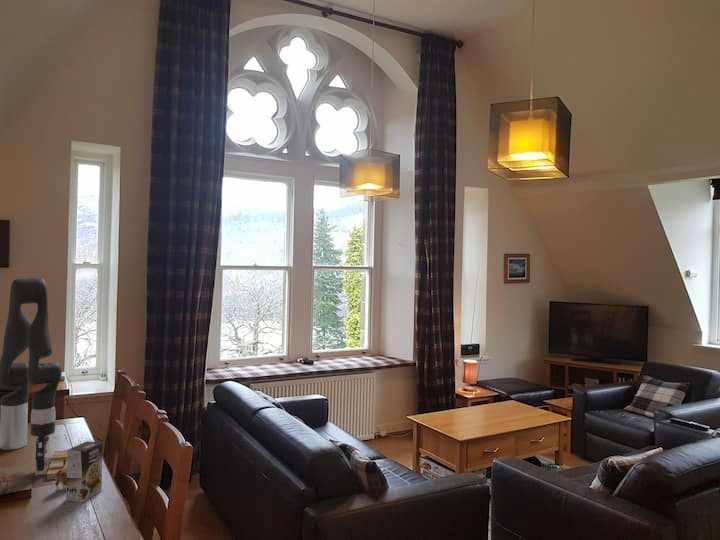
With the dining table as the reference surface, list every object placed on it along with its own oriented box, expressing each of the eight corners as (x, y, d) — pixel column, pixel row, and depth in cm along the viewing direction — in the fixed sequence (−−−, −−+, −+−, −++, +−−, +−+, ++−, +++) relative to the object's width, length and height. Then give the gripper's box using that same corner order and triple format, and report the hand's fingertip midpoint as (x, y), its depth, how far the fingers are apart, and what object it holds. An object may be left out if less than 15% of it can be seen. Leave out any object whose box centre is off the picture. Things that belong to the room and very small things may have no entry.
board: (53, 456, 209) (53, 451, 209) (70, 455, 211) (70, 449, 211) (46, 479, 187) (46, 473, 187) (64, 477, 189) (65, 471, 189)
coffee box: (83, 503, 170) (84, 451, 170) (64, 500, 171) (66, 449, 171) (102, 491, 179) (103, 442, 179) (85, 489, 180) (86, 440, 180)
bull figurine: (93, 479, 189) (94, 455, 189) (60, 494, 176) (61, 468, 176) (83, 477, 190) (84, 453, 190) (50, 491, 177) (50, 466, 177)
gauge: (36, 471, 194) (37, 454, 194) (67, 467, 198) (68, 451, 198) (35, 475, 190) (35, 458, 190) (67, 471, 194) (67, 454, 194)
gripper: (33, 415, 197) (32, 460, 197) (27, 426, 184) (26, 474, 184) (57, 414, 200) (55, 458, 200) (53, 424, 187) (51, 472, 187)
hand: (41, 466), depth 192 cm, fingers open, 8 cm apart
